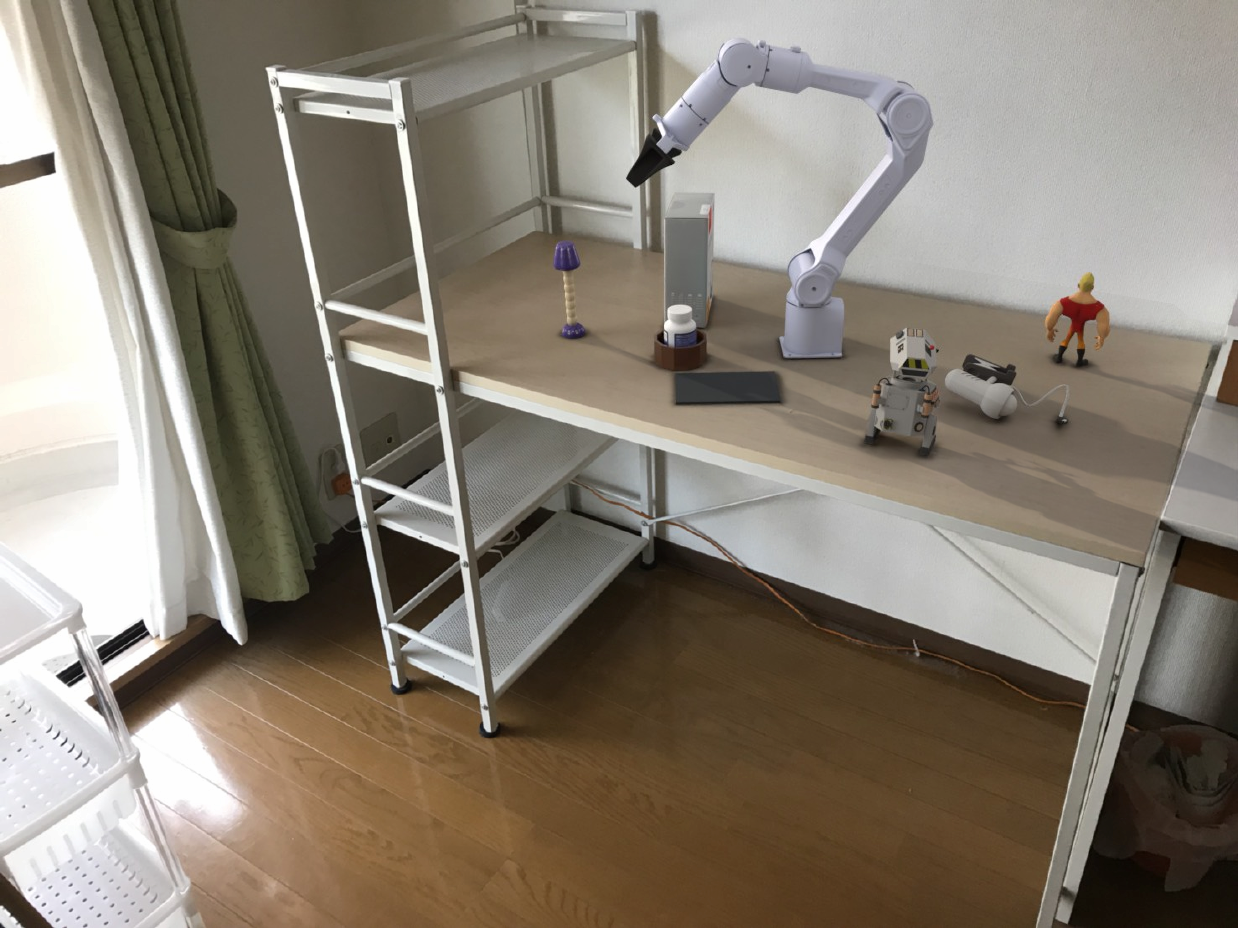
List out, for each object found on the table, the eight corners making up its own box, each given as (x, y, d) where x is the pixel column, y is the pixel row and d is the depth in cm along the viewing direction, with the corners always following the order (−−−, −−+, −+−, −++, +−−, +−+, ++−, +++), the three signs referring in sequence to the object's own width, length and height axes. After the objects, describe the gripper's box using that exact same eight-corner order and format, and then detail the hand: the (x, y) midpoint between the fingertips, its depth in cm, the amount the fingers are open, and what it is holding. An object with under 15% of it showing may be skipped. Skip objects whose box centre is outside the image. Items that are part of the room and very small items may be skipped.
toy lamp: (581, 340, 173) (575, 248, 164) (555, 339, 174) (548, 247, 165) (587, 329, 177) (582, 238, 168) (562, 328, 178) (555, 237, 169)
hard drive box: (707, 329, 175) (707, 218, 165) (663, 328, 176) (662, 218, 166) (713, 295, 188) (715, 191, 178) (673, 295, 189) (672, 190, 179)
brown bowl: (705, 347, 169) (705, 325, 167) (707, 369, 161) (707, 347, 159) (654, 348, 169) (654, 326, 167) (654, 370, 162) (653, 348, 160)
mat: (774, 373, 159) (774, 371, 159) (780, 402, 151) (781, 400, 151) (674, 375, 160) (674, 373, 160) (675, 404, 152) (675, 402, 151)
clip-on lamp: (1071, 425, 147) (960, 372, 155) (1091, 389, 144) (976, 336, 151) (1049, 453, 139) (932, 395, 146) (1069, 415, 135) (949, 358, 143)
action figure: (1103, 363, 158) (1124, 273, 150) (1099, 372, 155) (1121, 281, 147) (1040, 352, 162) (1058, 264, 154) (1036, 361, 159) (1053, 272, 152)
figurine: (944, 425, 143) (958, 329, 135) (925, 463, 134) (939, 363, 127) (881, 413, 147) (892, 319, 139) (859, 449, 138) (869, 351, 130)
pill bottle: (702, 356, 166) (702, 306, 161) (686, 368, 162) (685, 318, 157) (675, 349, 168) (674, 300, 164) (658, 361, 165) (657, 311, 160)
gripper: (680, 86, 153) (621, 153, 158) (671, 95, 140) (607, 167, 145) (713, 119, 154) (654, 184, 159) (707, 130, 141) (642, 201, 146)
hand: (634, 178), depth 152 cm, fingers open, 7 cm apart
